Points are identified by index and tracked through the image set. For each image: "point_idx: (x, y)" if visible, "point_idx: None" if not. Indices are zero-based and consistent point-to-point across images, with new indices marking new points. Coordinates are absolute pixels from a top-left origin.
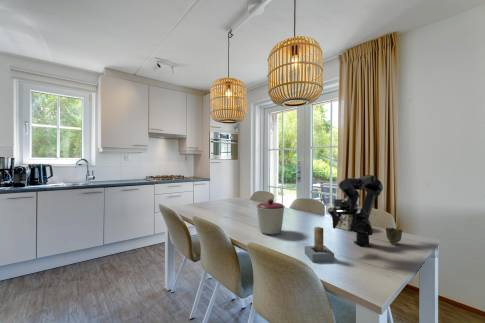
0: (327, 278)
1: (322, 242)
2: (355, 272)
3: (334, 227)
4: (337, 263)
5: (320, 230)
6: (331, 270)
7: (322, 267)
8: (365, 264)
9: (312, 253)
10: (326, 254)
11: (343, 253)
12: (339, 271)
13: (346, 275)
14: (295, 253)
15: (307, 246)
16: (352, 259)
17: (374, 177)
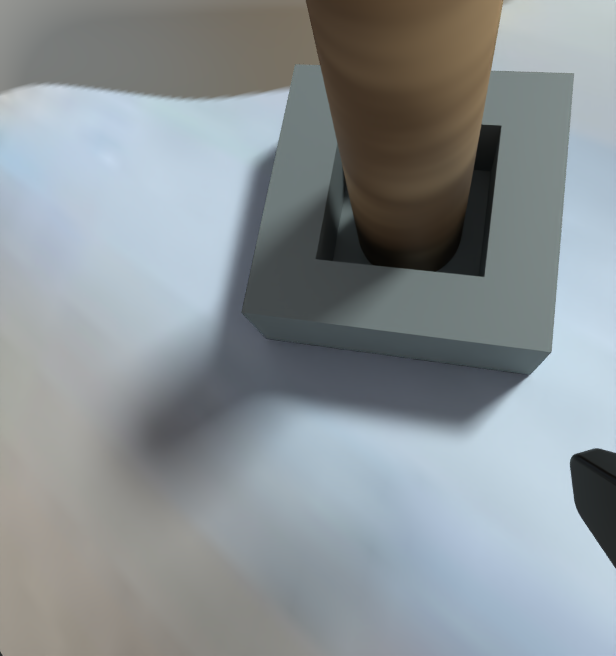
0: (31, 114)
1: (339, 149)
2: (14, 393)
3: (590, 501)
4: (218, 345)
5: None
6: (119, 207)
7: (192, 161)
8: (99, 645)
9: (319, 75)
10: (262, 219)
11: (454, 623)
12: (81, 263)
13: (7, 279)
14: (566, 41)
15: (552, 102)
16: (254, 596)
17: None
